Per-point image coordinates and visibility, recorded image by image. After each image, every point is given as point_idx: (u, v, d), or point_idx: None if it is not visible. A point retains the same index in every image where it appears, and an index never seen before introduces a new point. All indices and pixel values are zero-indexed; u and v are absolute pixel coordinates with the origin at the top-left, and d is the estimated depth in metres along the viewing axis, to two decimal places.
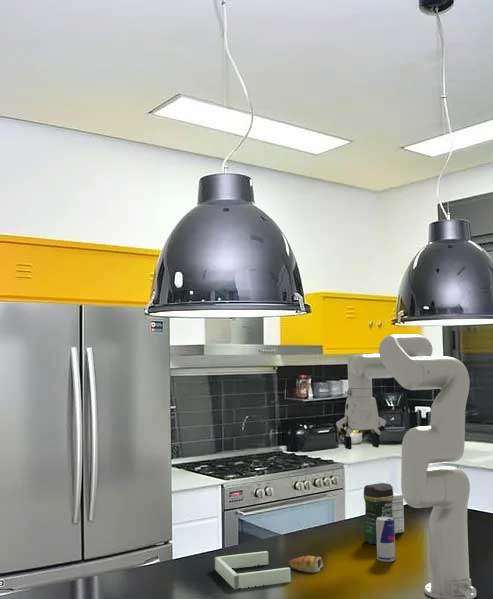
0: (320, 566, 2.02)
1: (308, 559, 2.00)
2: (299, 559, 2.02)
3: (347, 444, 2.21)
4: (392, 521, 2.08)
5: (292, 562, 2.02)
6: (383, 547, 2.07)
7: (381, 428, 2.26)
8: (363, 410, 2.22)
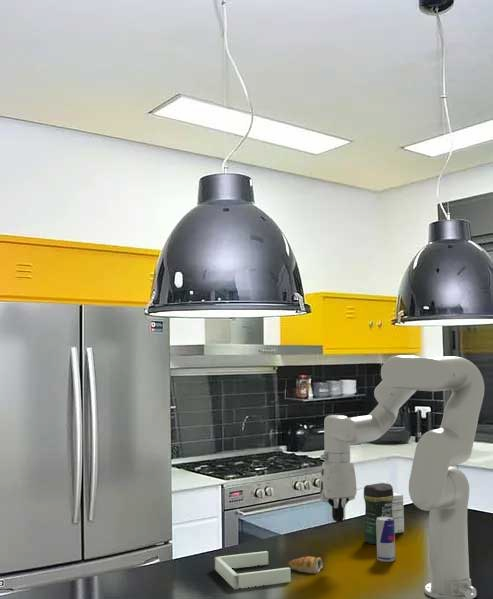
0: (320, 567, 2.01)
1: (308, 560, 2.00)
2: (299, 560, 2.01)
3: (335, 516, 2.06)
4: (392, 521, 2.08)
5: (292, 563, 2.01)
6: (383, 547, 2.07)
7: (346, 500, 2.07)
8: (340, 477, 2.05)
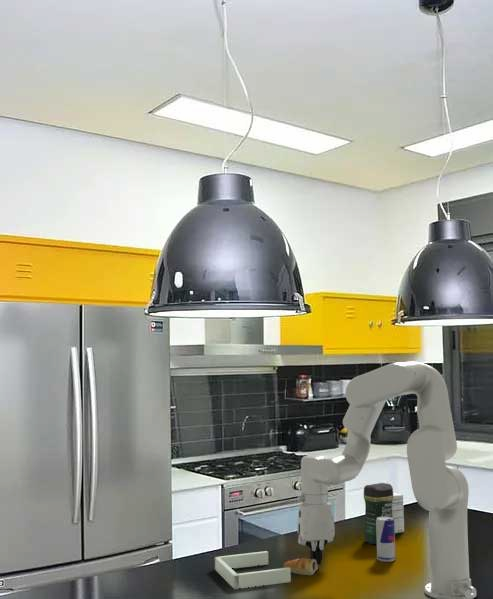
0: (315, 568, 1.99)
1: (303, 561, 1.98)
2: (293, 561, 1.99)
3: None
4: (392, 521, 2.08)
5: (286, 564, 2.00)
6: (383, 547, 2.07)
7: (324, 542, 2.04)
8: (317, 519, 2.01)
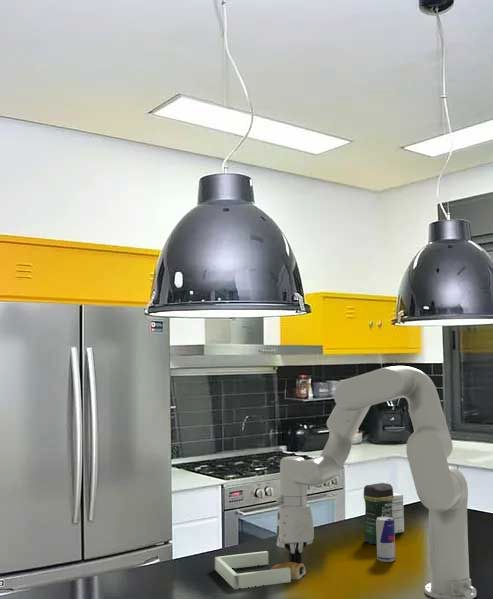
0: (302, 573, 1.96)
1: (289, 566, 1.95)
2: (281, 565, 1.96)
3: None
4: (392, 521, 2.08)
5: (274, 568, 1.97)
6: (383, 547, 2.07)
7: (303, 545, 2.02)
8: (296, 521, 1.99)
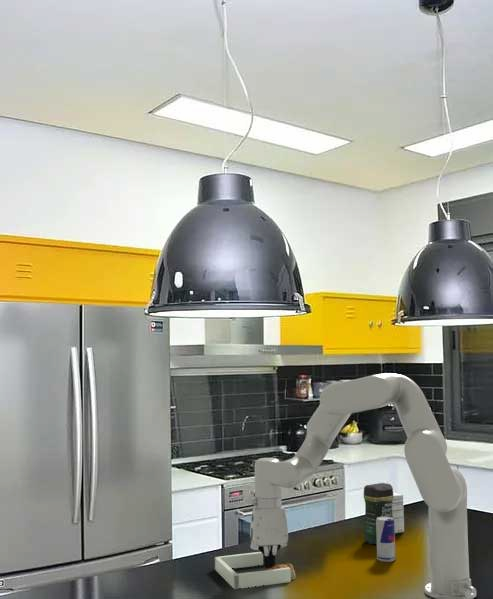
0: None
1: None
2: None
3: (266, 564, 1.98)
4: (392, 521, 2.08)
5: None
6: (383, 547, 2.07)
7: (277, 547, 1.99)
8: (270, 523, 1.97)
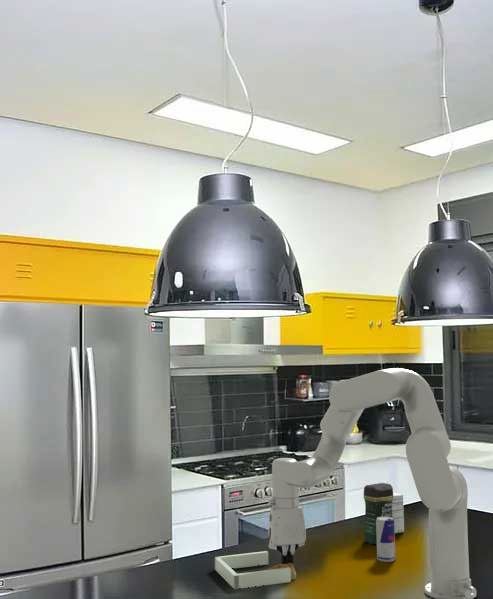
0: None
1: (285, 567, 1.93)
2: None
3: None
4: (392, 521, 2.08)
5: None
6: (383, 547, 2.07)
7: (295, 547, 2.01)
8: (288, 523, 1.98)
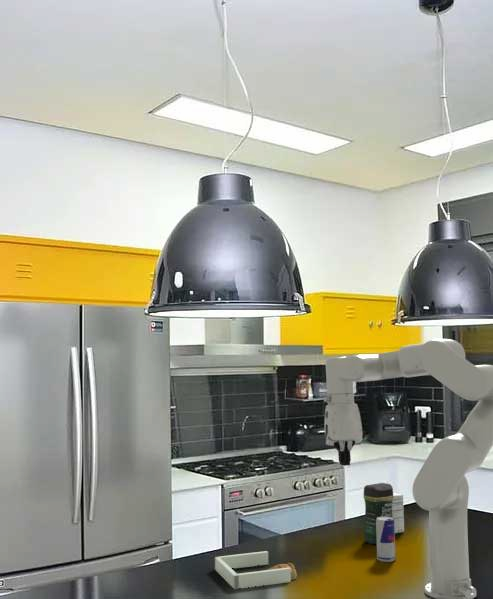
0: None
1: (286, 567, 1.93)
2: None
3: (342, 460, 2.00)
4: (392, 521, 2.08)
5: None
6: (383, 547, 2.07)
7: (352, 443, 2.01)
8: (344, 418, 1.99)
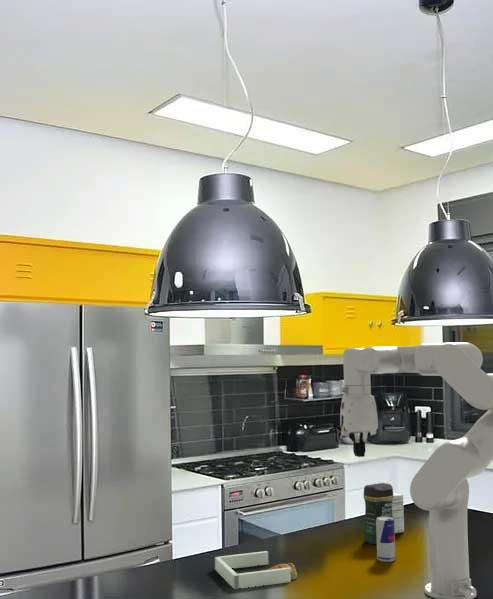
0: None
1: (286, 567, 1.93)
2: None
3: (357, 451, 1.99)
4: (392, 521, 2.08)
5: None
6: (383, 547, 2.07)
7: (367, 435, 2.01)
8: (361, 410, 1.98)
